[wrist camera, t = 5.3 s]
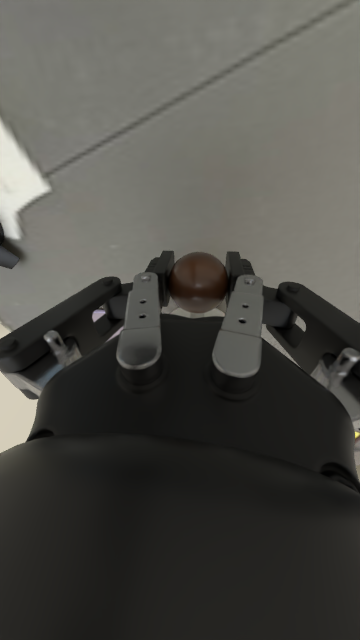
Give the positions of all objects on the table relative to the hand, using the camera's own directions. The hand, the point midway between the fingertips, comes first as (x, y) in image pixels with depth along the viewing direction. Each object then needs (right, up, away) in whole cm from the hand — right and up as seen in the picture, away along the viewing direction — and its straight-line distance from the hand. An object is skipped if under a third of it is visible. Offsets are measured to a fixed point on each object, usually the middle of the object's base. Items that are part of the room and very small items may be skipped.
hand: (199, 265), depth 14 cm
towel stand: (+1, -4, +8) cm, 9 cm away
